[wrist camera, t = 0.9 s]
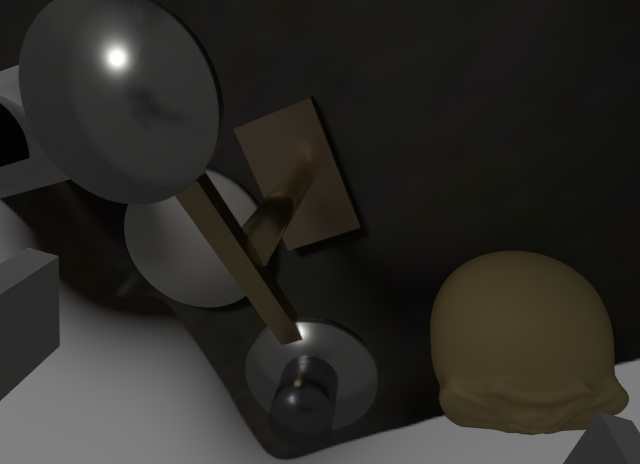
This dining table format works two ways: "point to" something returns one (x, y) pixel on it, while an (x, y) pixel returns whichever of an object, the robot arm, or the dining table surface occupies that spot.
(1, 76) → the grey piece
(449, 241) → the dining table surface
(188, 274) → the dish
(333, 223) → the balance
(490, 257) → the olive brown dome
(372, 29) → the dining table surface
